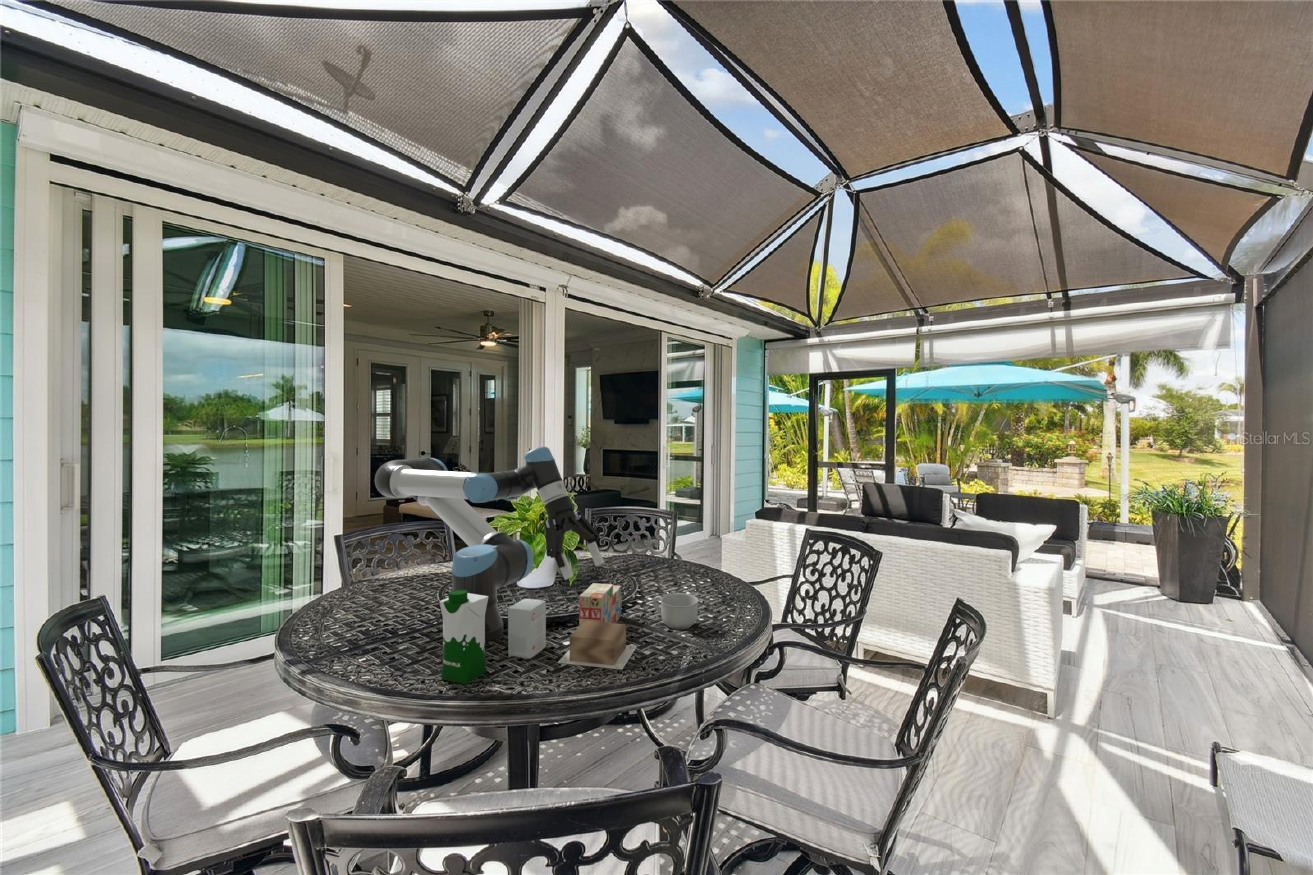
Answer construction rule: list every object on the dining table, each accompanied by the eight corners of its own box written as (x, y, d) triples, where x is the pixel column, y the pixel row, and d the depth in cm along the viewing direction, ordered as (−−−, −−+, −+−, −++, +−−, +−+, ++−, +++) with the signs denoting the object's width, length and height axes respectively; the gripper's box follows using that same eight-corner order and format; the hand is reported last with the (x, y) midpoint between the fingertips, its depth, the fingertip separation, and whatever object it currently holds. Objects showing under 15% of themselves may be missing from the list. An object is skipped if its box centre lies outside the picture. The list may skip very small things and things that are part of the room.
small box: (524, 647, 151) (524, 597, 150) (546, 651, 149) (546, 600, 148) (507, 660, 143) (507, 607, 143) (530, 663, 141) (530, 610, 141)
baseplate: (557, 667, 139) (557, 660, 139) (577, 645, 153) (577, 638, 153) (622, 674, 136) (622, 666, 136) (636, 651, 149) (636, 644, 149)
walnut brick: (569, 661, 140) (569, 636, 140) (584, 643, 151) (584, 620, 150) (613, 665, 138) (613, 640, 137) (626, 647, 148) (626, 624, 148)
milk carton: (435, 680, 132) (435, 592, 131) (463, 664, 140) (463, 582, 139) (466, 687, 128) (466, 597, 128) (493, 671, 137) (493, 586, 136)
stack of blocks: (601, 614, 177) (601, 574, 177) (621, 616, 176) (621, 575, 176) (578, 640, 156) (578, 595, 156) (601, 642, 155) (601, 596, 155)
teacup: (705, 626, 168) (705, 598, 168) (681, 636, 160) (681, 607, 160) (668, 614, 177) (668, 588, 177) (644, 624, 169) (644, 596, 169)
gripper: (533, 502, 151) (564, 579, 148) (592, 488, 172) (620, 555, 169) (515, 513, 155) (545, 588, 151) (575, 497, 176) (602, 563, 173)
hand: (585, 571), depth 160 cm, fingers open, 13 cm apart
